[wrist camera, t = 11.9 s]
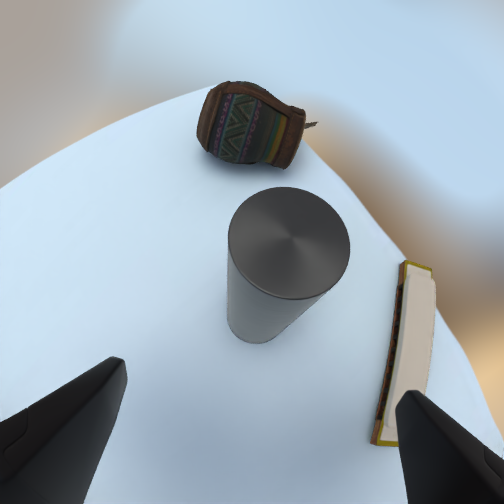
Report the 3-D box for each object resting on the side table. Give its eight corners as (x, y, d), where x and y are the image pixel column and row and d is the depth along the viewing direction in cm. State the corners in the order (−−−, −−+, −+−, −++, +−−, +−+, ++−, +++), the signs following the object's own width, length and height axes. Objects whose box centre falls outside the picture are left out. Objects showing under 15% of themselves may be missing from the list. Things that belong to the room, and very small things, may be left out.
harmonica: (401, 445, 16) (415, 448, 14) (368, 443, 17) (380, 447, 15) (426, 274, 23) (438, 265, 21) (398, 265, 23) (409, 255, 21)
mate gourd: (192, 109, 18) (333, 153, 19) (223, 56, 21) (335, 92, 22) (188, 169, 24) (298, 201, 26) (212, 112, 27) (306, 141, 29)
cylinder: (295, 312, 21) (370, 235, 10) (259, 355, 19) (303, 327, 8) (252, 276, 21) (280, 168, 10) (215, 317, 20) (200, 240, 9)
